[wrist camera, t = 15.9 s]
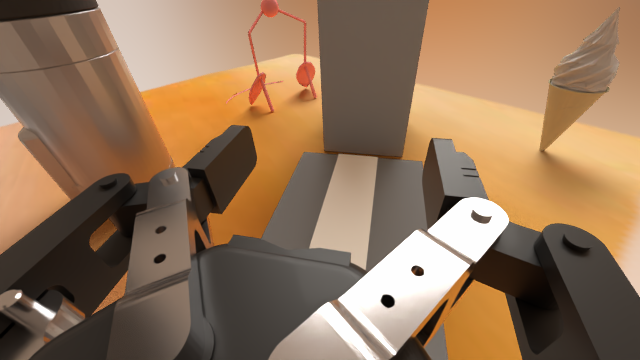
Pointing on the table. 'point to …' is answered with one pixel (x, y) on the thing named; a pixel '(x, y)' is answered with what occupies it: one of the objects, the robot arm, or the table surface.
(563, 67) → the ice cream cone
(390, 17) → the pedestal
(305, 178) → the mat
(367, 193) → the slat
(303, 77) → the figurine
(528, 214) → the table surface
